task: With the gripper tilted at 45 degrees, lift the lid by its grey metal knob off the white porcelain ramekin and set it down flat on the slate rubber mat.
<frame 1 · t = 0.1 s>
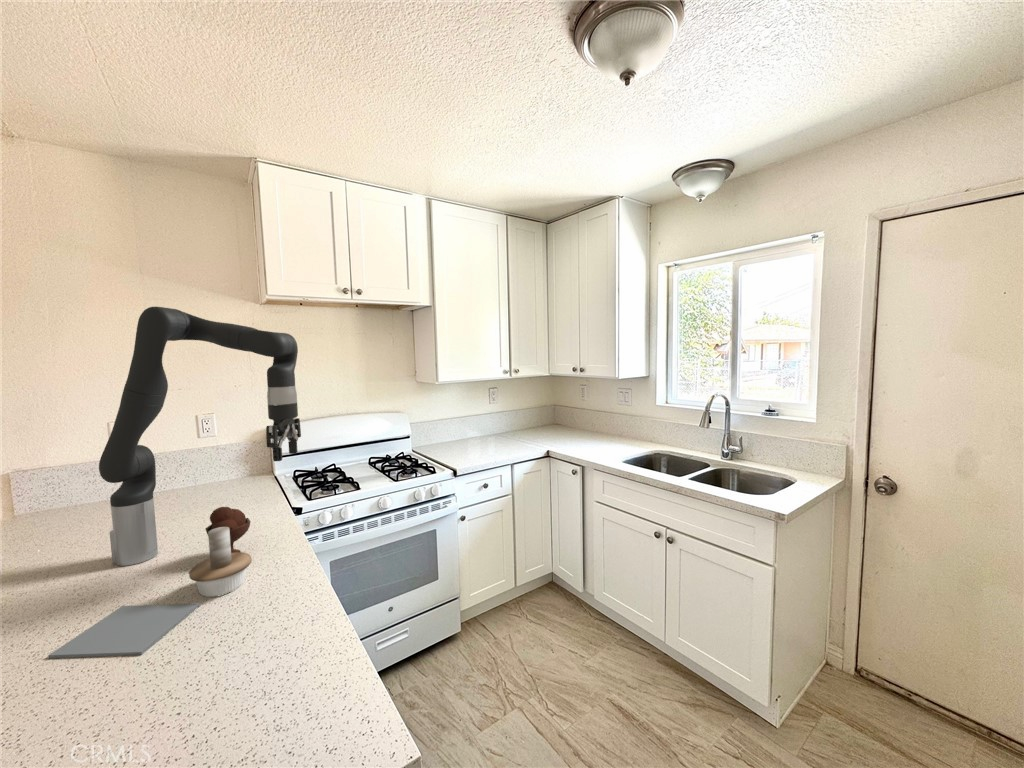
hand: (285, 457, 121), 29 cm above the counter, tool pointing down, fingers open, 8 cm apart
lid: (221, 567, 106), point 5 cm above the counter, touching ramekin
ramekin: (223, 588, 106), on the counter, touching lid
ice cream bowl: (230, 556, 123), on the counter
mat: (131, 629, 90), on the counter
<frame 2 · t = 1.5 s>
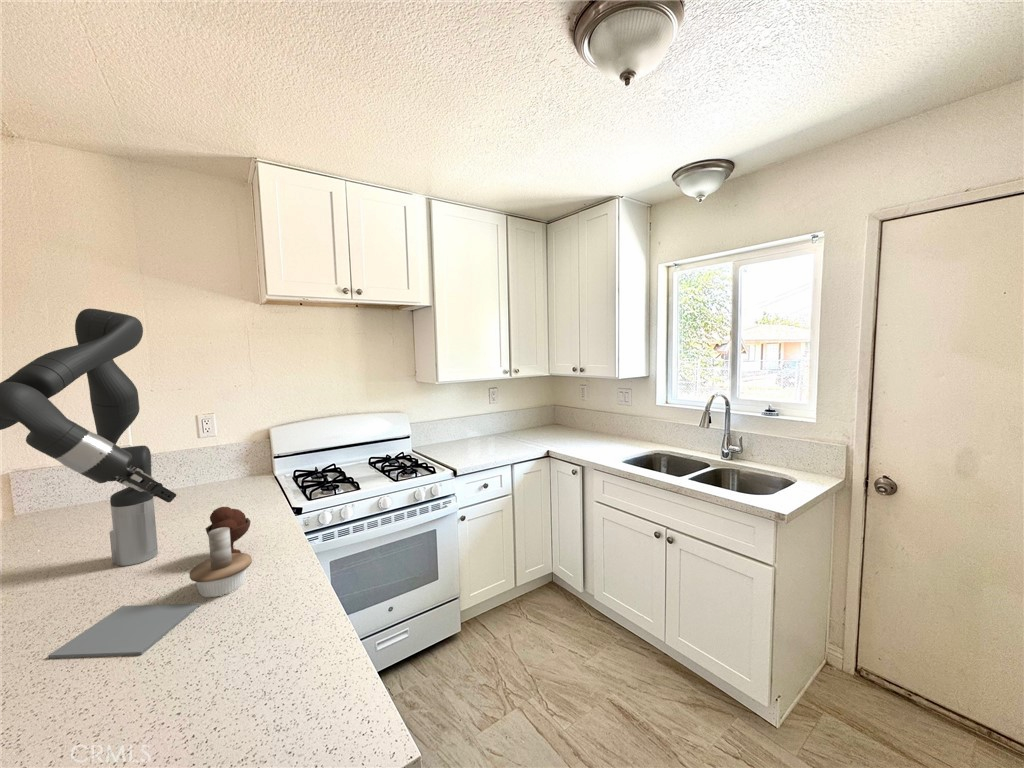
hand: (165, 495, 97), 27 cm above the counter, tool tilted 45°, fingers open, 8 cm apart
nothing on the counter moved.
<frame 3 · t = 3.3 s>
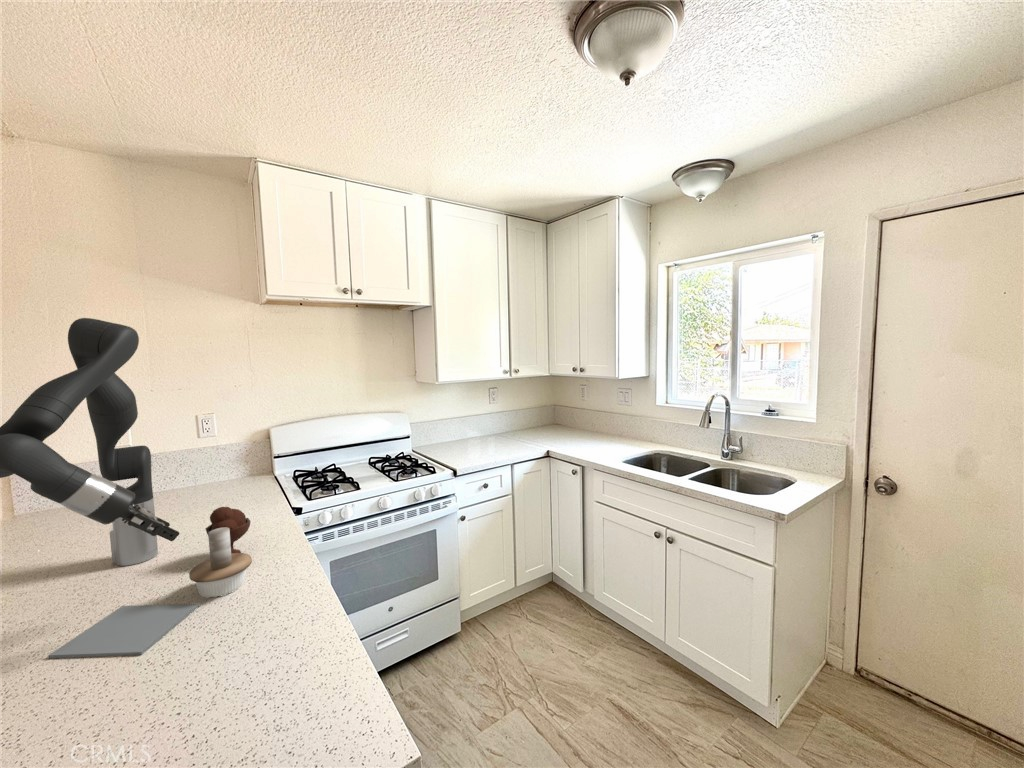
hand: (171, 532, 98), 18 cm above the counter, tool tilted 45°, fingers open, 8 cm apart
nothing on the counter moved.
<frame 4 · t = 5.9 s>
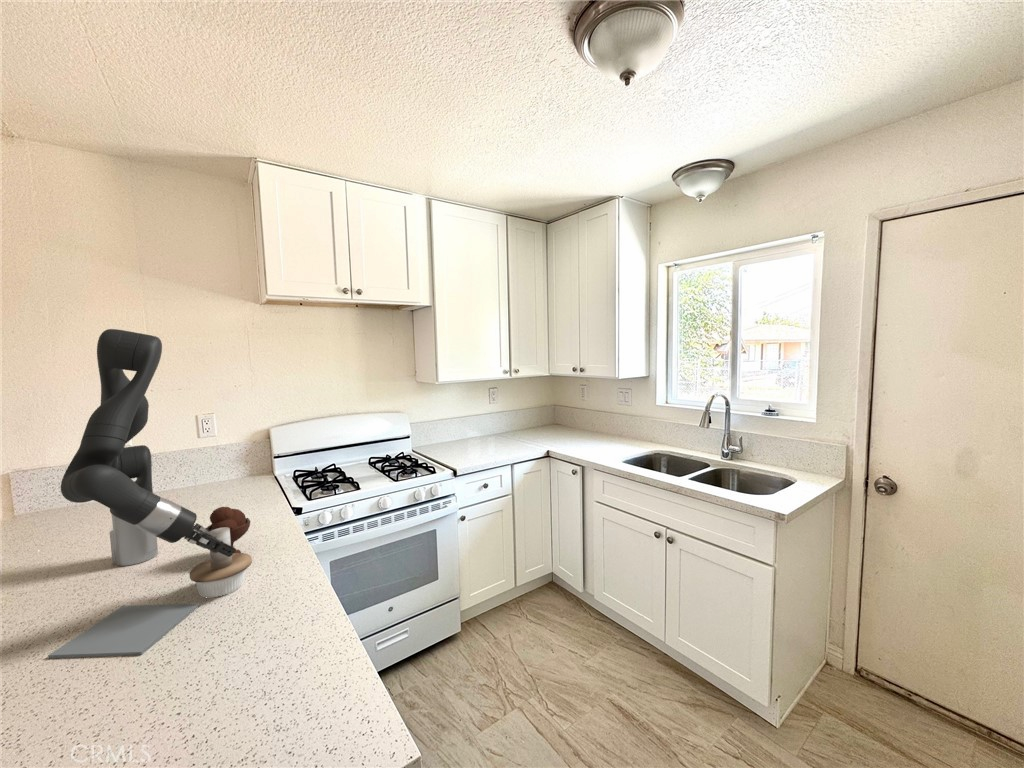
hand: (228, 549, 107), 9 cm above the counter, tool tilted 45°, fingers open, 5 cm apart
lid: (221, 568, 105), point 5 cm above the counter, touching gripper, ramekin
everything else where it was.
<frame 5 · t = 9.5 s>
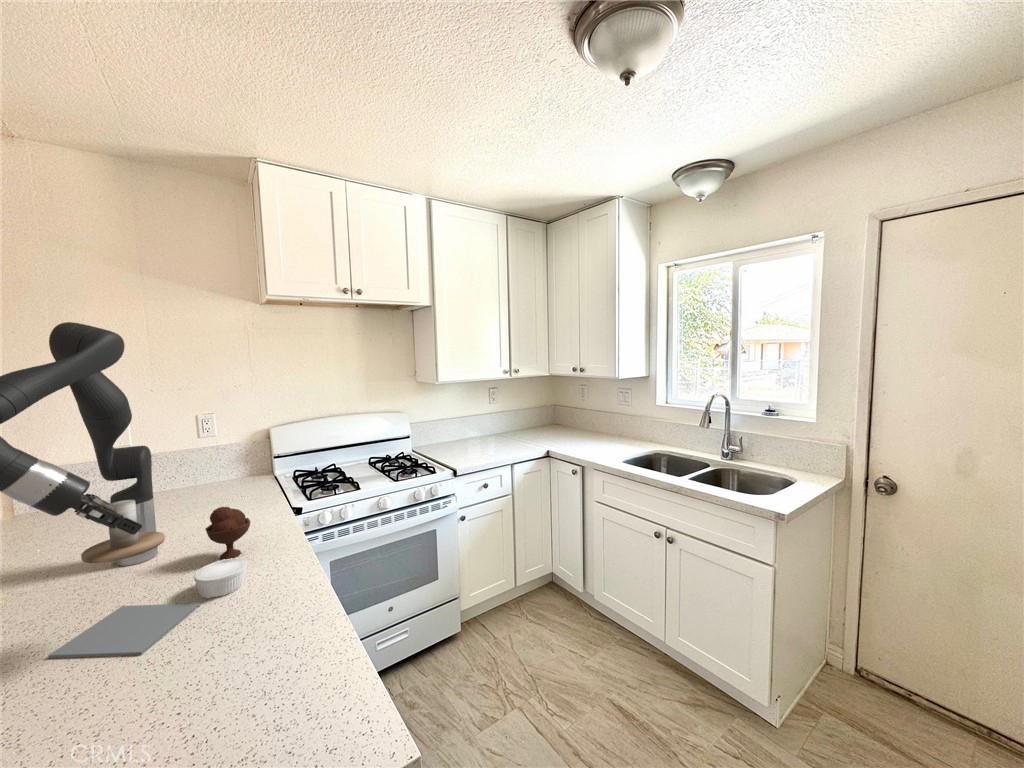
hand: (135, 527, 90), 22 cm above the counter, tool tilted 45°, fingers closed on lid, 4 cm apart
lid: (125, 548, 89), point 18 cm above the counter, touching gripper
ramekin: (223, 589, 106), on the counter
everything else where it was.
when the fingers open (6 cm above the counter, at t = 13.0 s): lid drops 1 cm, resting on mat.
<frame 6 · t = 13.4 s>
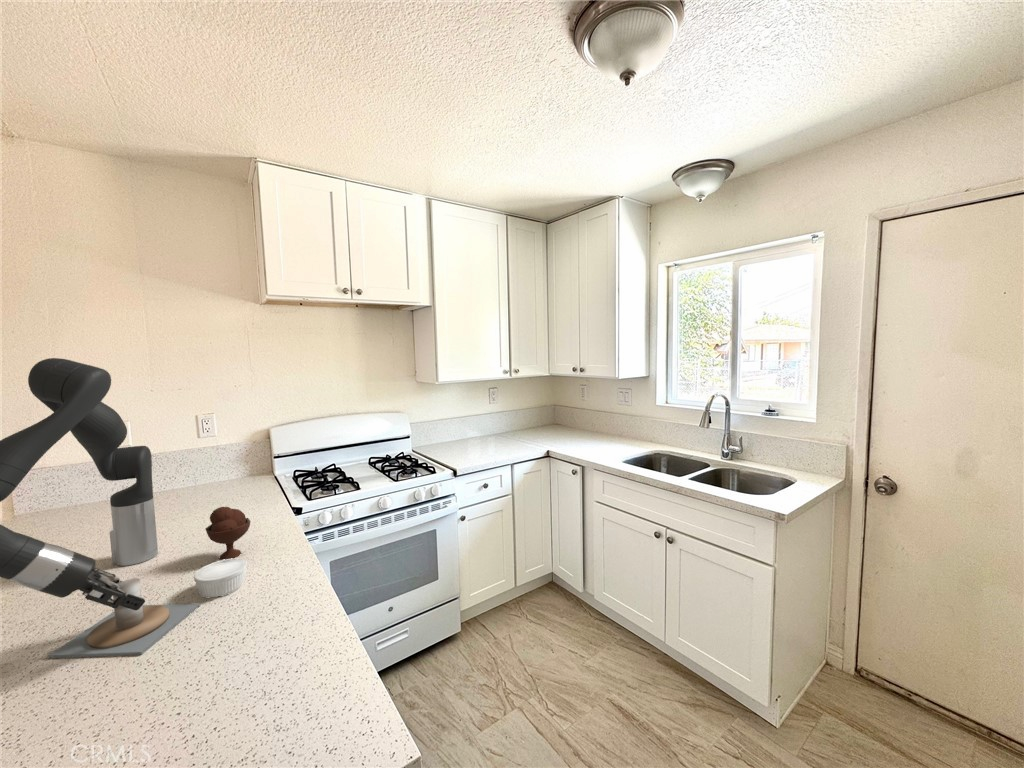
hand: (137, 598, 91), 6 cm above the counter, tool tilted 45°, fingers open, 8 cm apart
lid: (130, 627, 90), point 1 cm above the counter, touching mat
everything else where it was.
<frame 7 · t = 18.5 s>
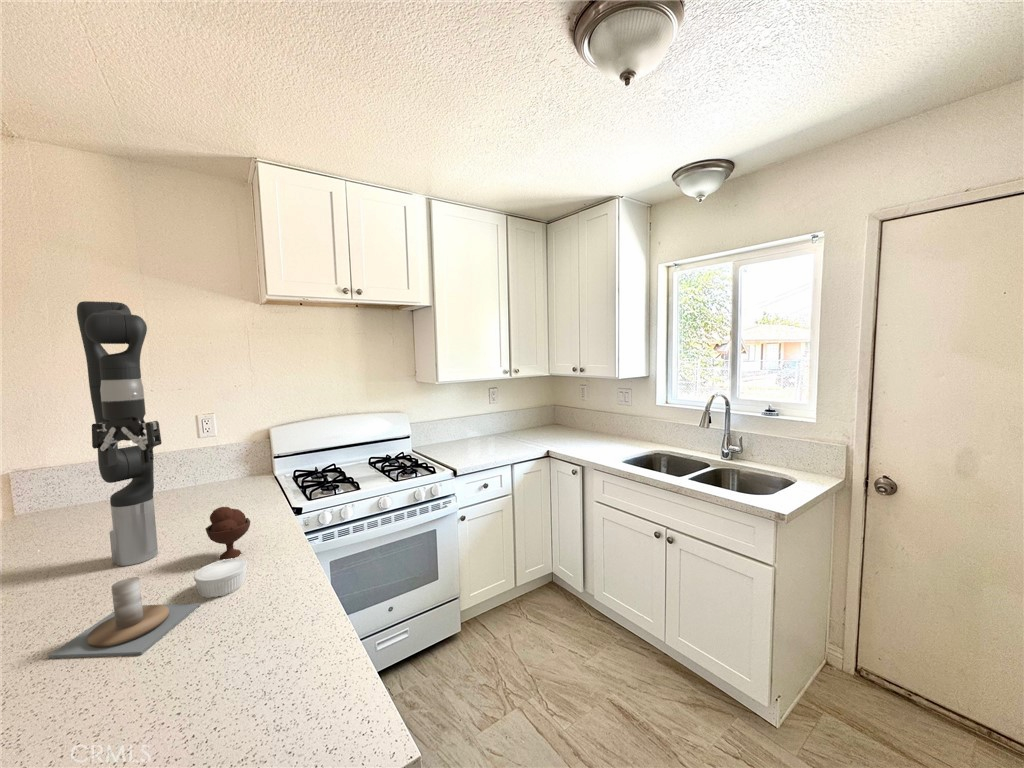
hand: (129, 464, 100), 33 cm above the counter, tool pointing down, fingers open, 8 cm apart
nothing on the counter moved.
at the end: lid inside the target area on the mat (0.1 cm from its centre), point 0.8 cm above the mat's base; lid touching mat; lid tilted 2° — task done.
